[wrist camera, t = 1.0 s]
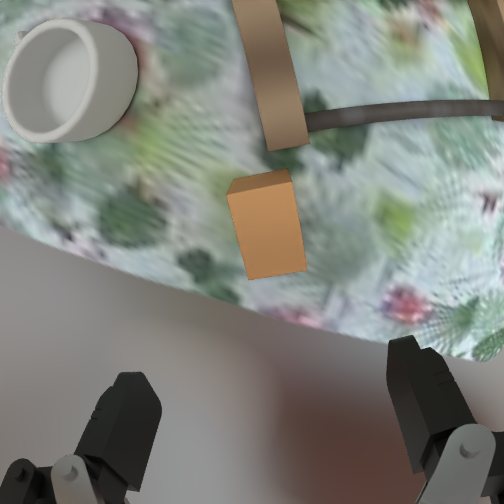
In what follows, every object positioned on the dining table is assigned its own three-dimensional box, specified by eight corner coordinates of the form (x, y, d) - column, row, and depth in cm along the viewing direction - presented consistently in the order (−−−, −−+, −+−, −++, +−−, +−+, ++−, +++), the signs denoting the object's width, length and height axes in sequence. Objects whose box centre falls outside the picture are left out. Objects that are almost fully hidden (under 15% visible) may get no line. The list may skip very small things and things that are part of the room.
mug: (167, 73, 20) (135, 63, 15) (87, 163, 23) (45, 181, 18) (80, -7, 17) (39, -25, 11) (15, 79, 20) (-30, 82, 14)
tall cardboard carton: (233, 179, 23) (226, 195, 19) (287, 168, 23) (291, 181, 19) (251, 251, 26) (248, 280, 22) (301, 242, 25) (307, 269, 21)
